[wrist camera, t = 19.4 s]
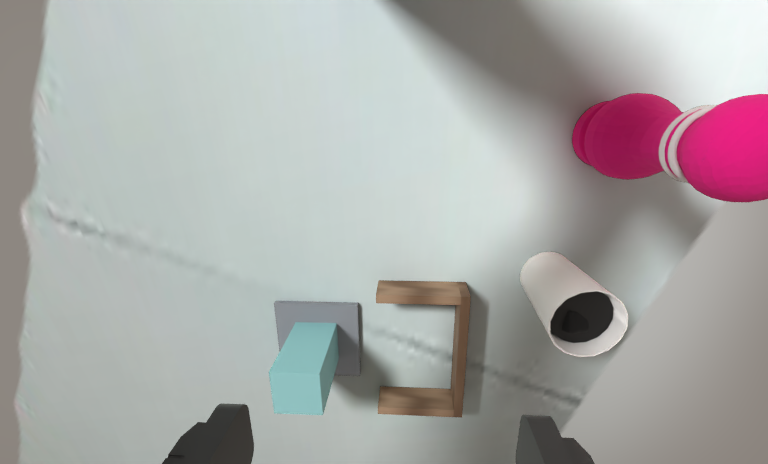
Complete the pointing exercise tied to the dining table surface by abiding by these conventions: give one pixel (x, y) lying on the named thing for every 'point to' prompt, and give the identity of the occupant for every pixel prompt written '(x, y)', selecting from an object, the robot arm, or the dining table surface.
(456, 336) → the walnut cubby
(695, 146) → the pepper mill
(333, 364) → the teal block
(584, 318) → the white paper cup
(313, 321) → the slate mat
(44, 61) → the dining table surface
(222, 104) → the dining table surface
